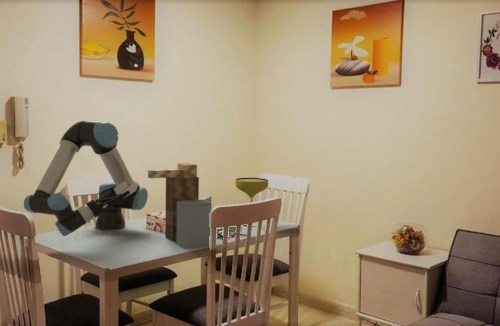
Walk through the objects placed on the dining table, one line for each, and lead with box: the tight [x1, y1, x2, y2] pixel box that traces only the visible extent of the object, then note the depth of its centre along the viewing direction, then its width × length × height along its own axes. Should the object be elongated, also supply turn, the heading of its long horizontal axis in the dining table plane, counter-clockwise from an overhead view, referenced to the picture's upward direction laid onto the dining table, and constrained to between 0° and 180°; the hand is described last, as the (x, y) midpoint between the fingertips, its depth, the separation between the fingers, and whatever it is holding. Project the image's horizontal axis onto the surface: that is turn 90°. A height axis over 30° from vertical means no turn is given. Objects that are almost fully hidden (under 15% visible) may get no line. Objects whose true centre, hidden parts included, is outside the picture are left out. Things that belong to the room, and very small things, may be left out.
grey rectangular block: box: [175, 200, 213, 249], centre depth 251 cm, size 13×10×20 cm
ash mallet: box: [147, 162, 198, 179], centre depth 259 cm, size 22×10×6 cm, turn 119°
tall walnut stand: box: [164, 176, 200, 242], centre depth 264 cm, size 13×10×30 cm
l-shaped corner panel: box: [217, 227, 243, 236], centre depth 272 cm, size 12×12×8 cm
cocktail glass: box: [234, 177, 269, 203], centre depth 299 cm, size 18×18×25 cm
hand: (131, 185), depth 250 cm, fingers open, 13 cm apart
